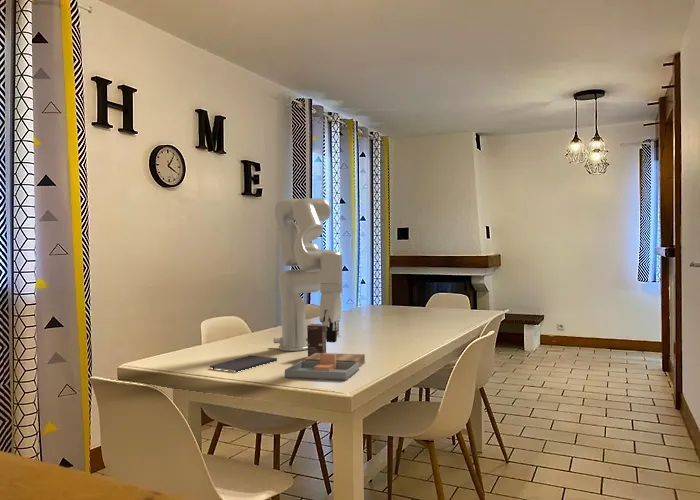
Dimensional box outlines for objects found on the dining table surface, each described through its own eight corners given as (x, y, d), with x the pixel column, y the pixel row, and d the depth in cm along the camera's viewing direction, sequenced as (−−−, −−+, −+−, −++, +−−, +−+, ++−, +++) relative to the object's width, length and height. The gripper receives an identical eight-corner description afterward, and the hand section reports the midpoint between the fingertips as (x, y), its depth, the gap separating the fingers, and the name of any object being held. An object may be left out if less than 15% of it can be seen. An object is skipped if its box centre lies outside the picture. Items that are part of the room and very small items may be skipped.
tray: (284, 377, 177) (284, 369, 177) (301, 367, 191) (301, 360, 191) (346, 380, 171) (346, 372, 171) (358, 370, 185) (358, 362, 185)
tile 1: (319, 363, 185) (319, 369, 185) (314, 366, 180) (314, 373, 180) (333, 364, 183) (333, 370, 183) (328, 367, 179) (329, 373, 179)
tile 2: (322, 367, 188) (320, 369, 186) (321, 352, 188) (319, 353, 186) (336, 368, 186) (334, 369, 184) (336, 353, 186) (334, 354, 184)
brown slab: (304, 367, 191) (304, 359, 191) (315, 361, 201) (315, 352, 201) (356, 369, 186) (356, 360, 185) (364, 363, 196) (364, 354, 196)
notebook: (236, 374, 186) (277, 362, 204) (236, 369, 186) (277, 358, 204) (208, 370, 192) (250, 359, 210) (208, 366, 192) (250, 355, 210)
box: (307, 358, 207) (306, 325, 207) (311, 355, 211) (311, 323, 211) (322, 358, 205) (322, 325, 205) (327, 356, 210) (326, 324, 210)
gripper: (327, 285, 200) (328, 336, 201) (313, 290, 185) (313, 345, 186) (348, 286, 198) (348, 338, 199) (335, 291, 183) (335, 347, 184)
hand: (331, 341), depth 192 cm, fingers closed
